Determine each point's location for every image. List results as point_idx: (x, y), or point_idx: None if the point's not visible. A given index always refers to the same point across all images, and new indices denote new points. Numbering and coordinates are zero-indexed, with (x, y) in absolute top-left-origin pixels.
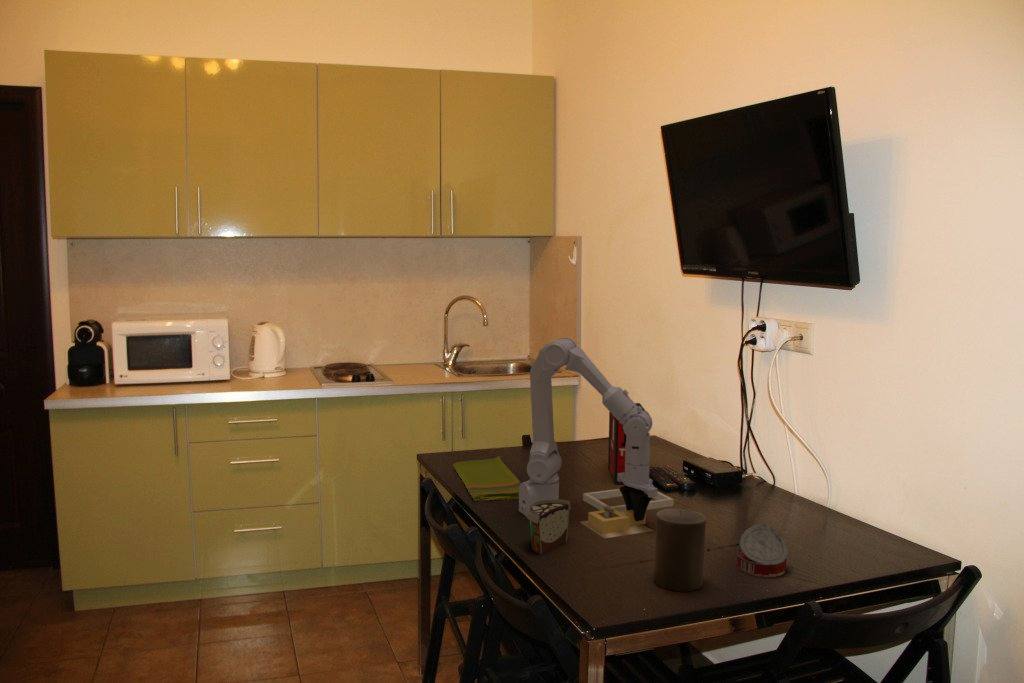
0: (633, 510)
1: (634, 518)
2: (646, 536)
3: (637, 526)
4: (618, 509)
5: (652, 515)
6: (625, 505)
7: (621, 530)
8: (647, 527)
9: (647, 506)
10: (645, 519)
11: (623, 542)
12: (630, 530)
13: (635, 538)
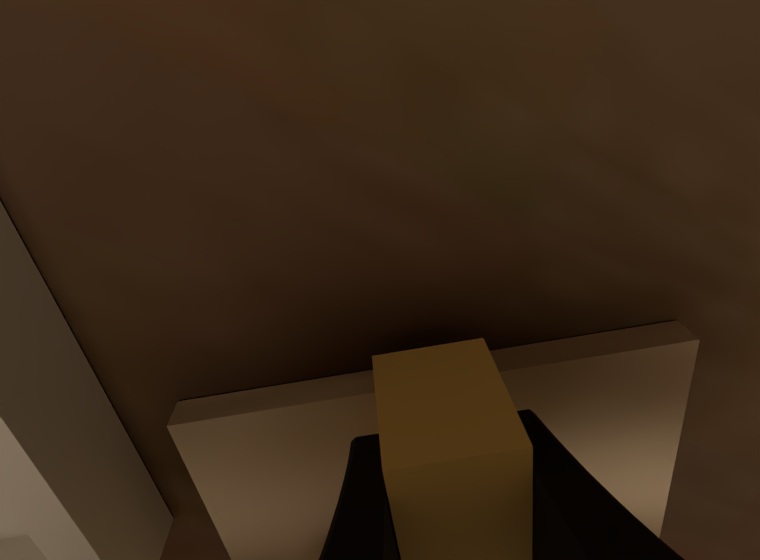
0: (436, 553)
1: None
2: None
3: None
4: (100, 515)
5: (72, 67)
6: (12, 470)
7: None
8: (593, 357)
9: (674, 552)
10: (495, 369)
11: (694, 543)
12: None
13: (677, 467)
